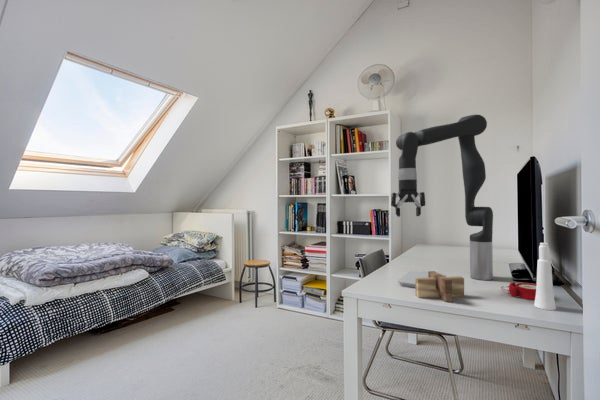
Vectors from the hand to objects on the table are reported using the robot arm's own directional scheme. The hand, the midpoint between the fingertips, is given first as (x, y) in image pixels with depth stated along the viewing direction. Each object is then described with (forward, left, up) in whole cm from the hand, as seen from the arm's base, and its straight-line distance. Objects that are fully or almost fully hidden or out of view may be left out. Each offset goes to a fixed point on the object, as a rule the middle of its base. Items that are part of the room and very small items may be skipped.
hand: (408, 216), depth 140 cm
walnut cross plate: (+11, +13, -30) cm, 35 cm away
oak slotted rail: (+11, +13, -30) cm, 35 cm away
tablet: (-9, +4, -31) cm, 32 cm away
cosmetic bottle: (+10, +46, -30) cm, 56 cm away
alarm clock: (-2, +42, -31) cm, 52 cm away
